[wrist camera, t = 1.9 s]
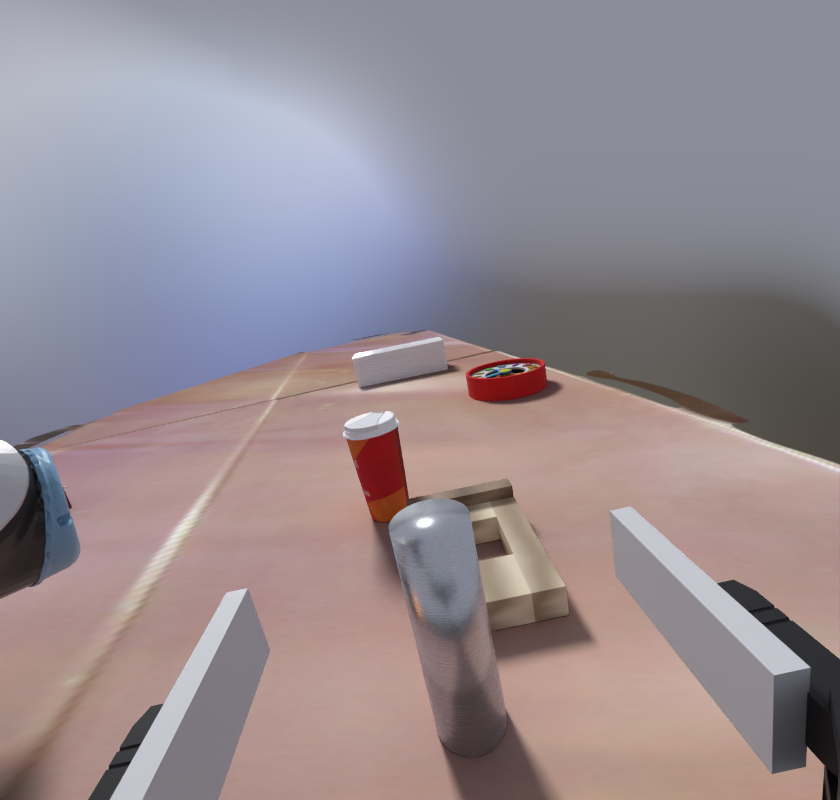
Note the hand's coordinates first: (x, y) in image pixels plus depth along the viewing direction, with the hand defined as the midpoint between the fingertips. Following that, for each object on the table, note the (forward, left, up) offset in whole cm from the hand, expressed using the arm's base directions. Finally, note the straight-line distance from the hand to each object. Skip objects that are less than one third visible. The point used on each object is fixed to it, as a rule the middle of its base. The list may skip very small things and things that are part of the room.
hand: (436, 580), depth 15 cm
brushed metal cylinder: (0, +10, -19) cm, 22 cm away
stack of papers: (-2, +137, -20) cm, 138 cm away
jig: (+3, +26, -19) cm, 32 cm away
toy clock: (+25, +92, -20) cm, 97 cm away
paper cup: (-6, +41, -20) cm, 46 cm away
